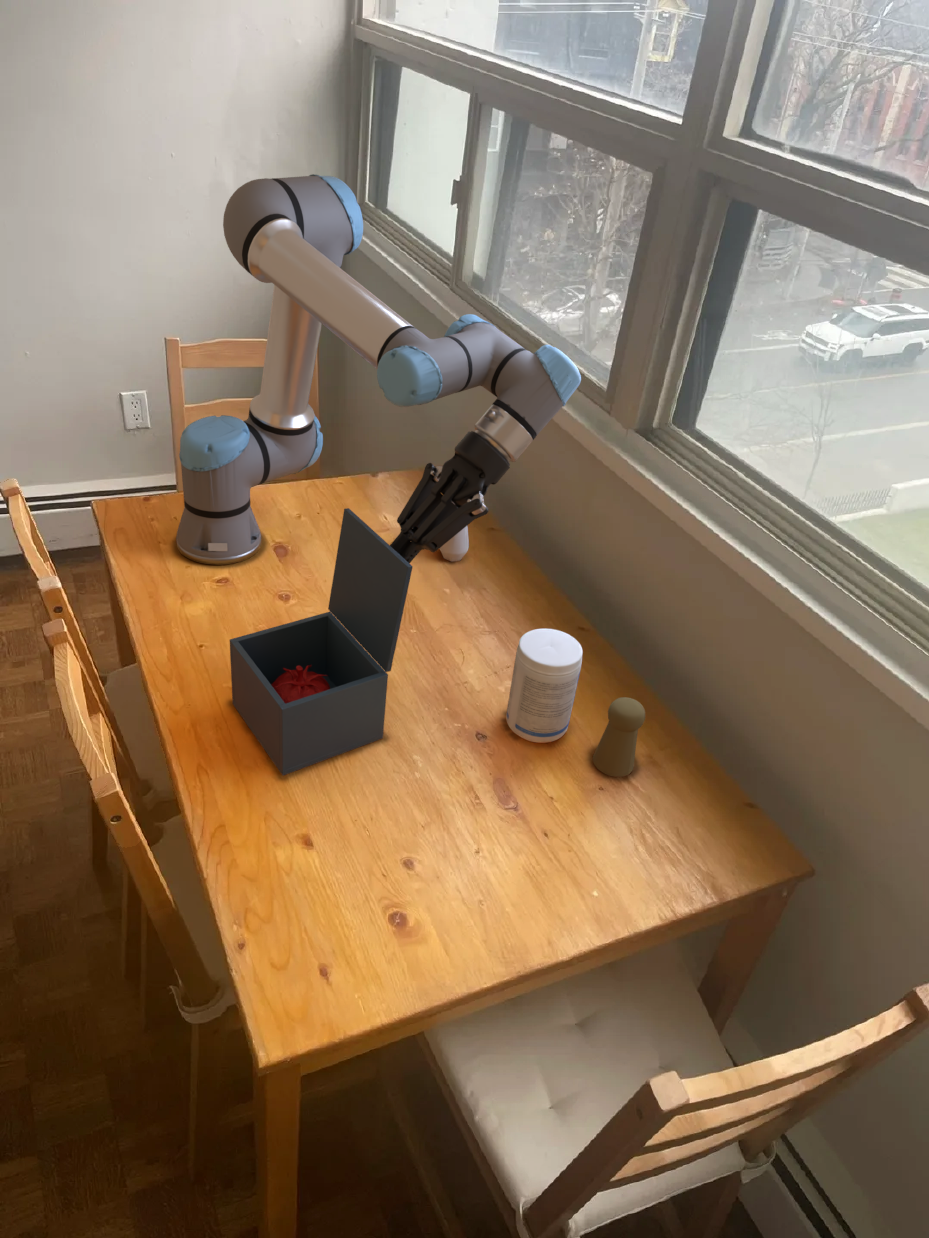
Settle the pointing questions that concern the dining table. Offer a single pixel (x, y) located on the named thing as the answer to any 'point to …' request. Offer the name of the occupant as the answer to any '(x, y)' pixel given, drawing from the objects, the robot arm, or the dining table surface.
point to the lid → (369, 588)
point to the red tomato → (299, 684)
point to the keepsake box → (317, 719)
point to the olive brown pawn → (619, 738)
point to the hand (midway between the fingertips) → (380, 576)
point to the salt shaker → (456, 546)
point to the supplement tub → (543, 685)
